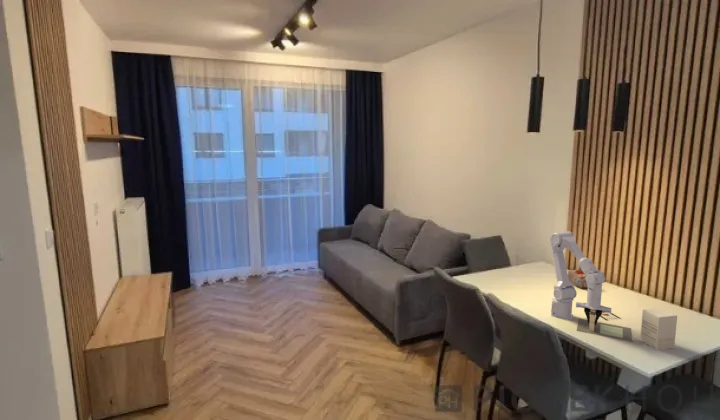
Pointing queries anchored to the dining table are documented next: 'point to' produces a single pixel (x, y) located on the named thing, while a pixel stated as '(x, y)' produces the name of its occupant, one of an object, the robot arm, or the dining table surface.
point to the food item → (577, 278)
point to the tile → (592, 321)
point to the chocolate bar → (608, 316)
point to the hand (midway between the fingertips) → (592, 323)
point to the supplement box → (658, 328)
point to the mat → (606, 330)
